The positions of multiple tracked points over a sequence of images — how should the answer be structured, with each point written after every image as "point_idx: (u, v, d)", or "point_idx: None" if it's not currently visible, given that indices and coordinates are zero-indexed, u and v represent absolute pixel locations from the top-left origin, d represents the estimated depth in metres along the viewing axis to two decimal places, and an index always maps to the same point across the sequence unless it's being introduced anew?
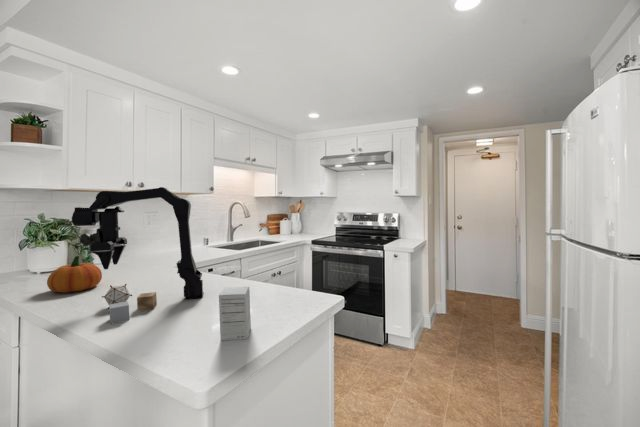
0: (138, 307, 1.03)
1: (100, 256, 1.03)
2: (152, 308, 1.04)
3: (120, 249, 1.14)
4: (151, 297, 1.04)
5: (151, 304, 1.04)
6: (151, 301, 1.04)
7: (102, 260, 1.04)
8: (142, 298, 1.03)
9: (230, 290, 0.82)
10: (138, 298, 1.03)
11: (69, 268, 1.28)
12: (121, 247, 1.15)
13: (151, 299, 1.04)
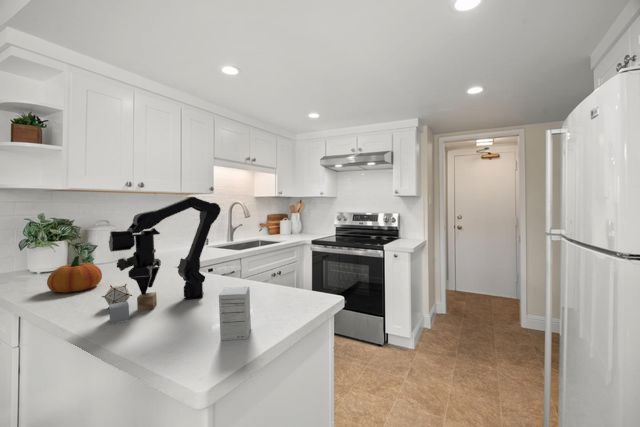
0: (138, 307, 1.03)
1: (138, 281, 1.00)
2: (152, 308, 1.05)
3: (155, 271, 1.11)
4: (151, 297, 1.04)
5: (151, 304, 1.04)
6: (151, 301, 1.04)
7: (140, 286, 1.00)
8: (142, 298, 1.03)
9: (230, 290, 0.82)
10: (138, 298, 1.03)
11: (69, 268, 1.28)
12: (156, 269, 1.11)
13: (151, 299, 1.04)
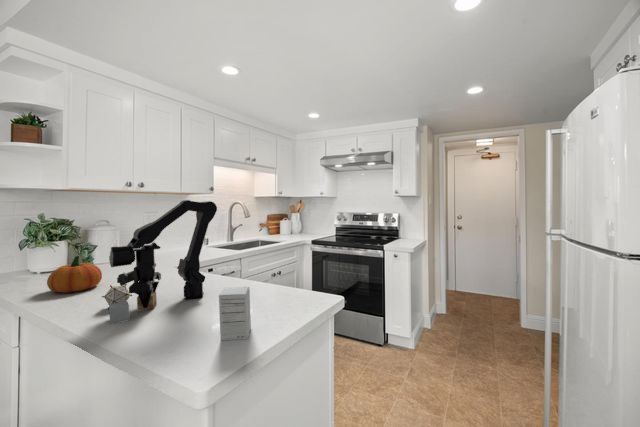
0: (138, 307, 1.03)
1: (140, 295, 1.02)
2: (152, 308, 1.04)
3: (154, 287, 1.09)
4: (151, 297, 1.04)
5: (151, 304, 1.04)
6: (151, 301, 1.04)
7: (142, 299, 1.02)
8: None
9: (230, 290, 0.82)
10: (138, 298, 1.03)
11: (69, 268, 1.28)
12: (155, 284, 1.10)
13: (151, 299, 1.04)
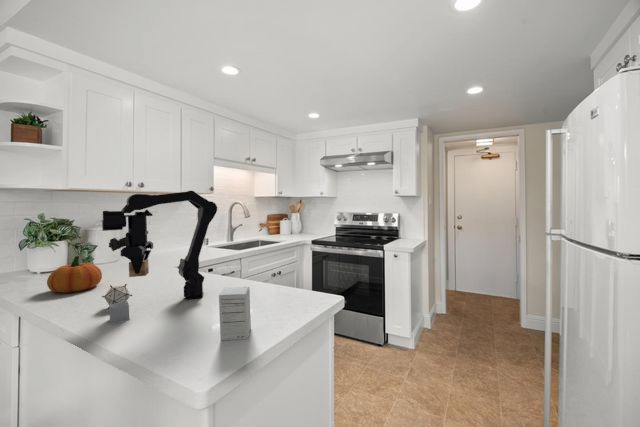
0: (130, 272, 1.03)
1: (132, 260, 1.02)
2: (144, 274, 1.04)
3: (146, 254, 1.09)
4: (143, 263, 1.04)
5: (143, 270, 1.04)
6: (143, 267, 1.04)
7: (134, 265, 1.02)
8: None
9: (230, 290, 0.82)
10: (130, 263, 1.03)
11: (69, 268, 1.28)
12: (147, 252, 1.10)
13: (143, 265, 1.04)
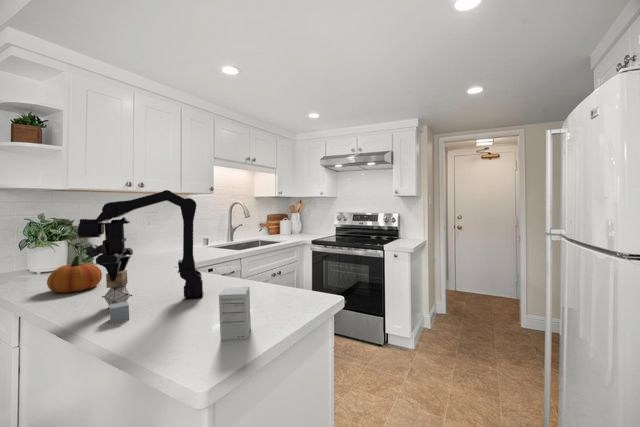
0: (107, 283, 1.05)
1: (107, 268, 1.03)
2: (121, 285, 1.06)
3: (125, 260, 1.12)
4: (120, 274, 1.06)
5: (120, 281, 1.06)
6: (120, 278, 1.06)
7: (110, 272, 1.03)
8: None
9: (230, 290, 0.82)
10: (107, 275, 1.05)
11: (69, 268, 1.28)
12: (126, 258, 1.13)
13: (120, 276, 1.06)
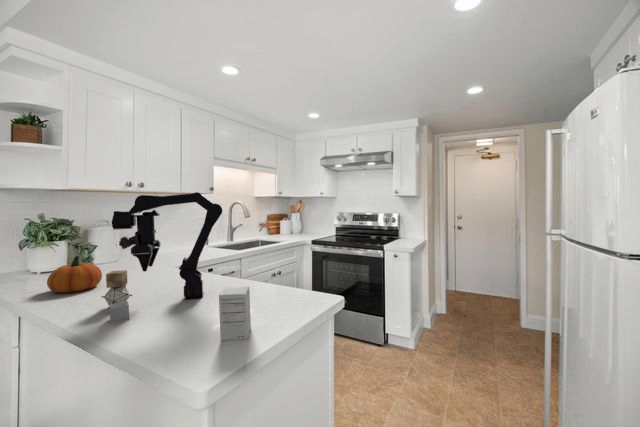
0: (107, 283, 1.05)
1: (140, 258, 1.06)
2: (121, 285, 1.06)
3: (155, 251, 1.17)
4: (120, 274, 1.06)
5: (120, 281, 1.06)
6: (120, 278, 1.06)
7: (142, 263, 1.07)
8: (111, 275, 1.05)
9: (230, 290, 0.82)
10: (107, 275, 1.05)
11: (69, 268, 1.28)
12: (156, 249, 1.18)
13: (120, 276, 1.06)
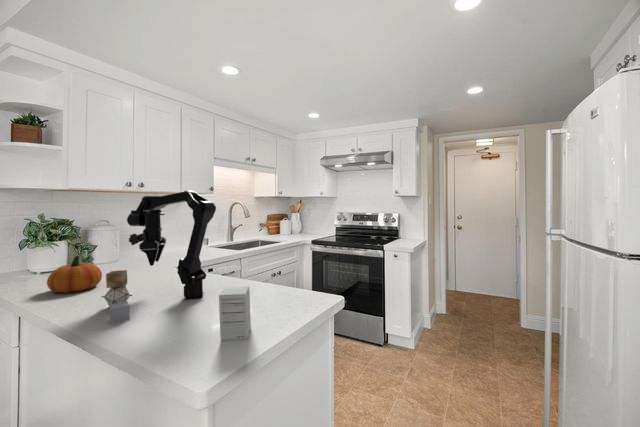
0: (107, 283, 1.05)
1: (147, 254, 1.16)
2: (121, 285, 1.06)
3: (161, 248, 1.28)
4: (120, 274, 1.06)
5: (120, 281, 1.06)
6: (120, 278, 1.06)
7: (149, 258, 1.17)
8: (111, 275, 1.05)
9: (230, 290, 0.82)
10: (107, 275, 1.05)
11: (69, 268, 1.28)
12: (162, 246, 1.28)
13: (120, 276, 1.06)
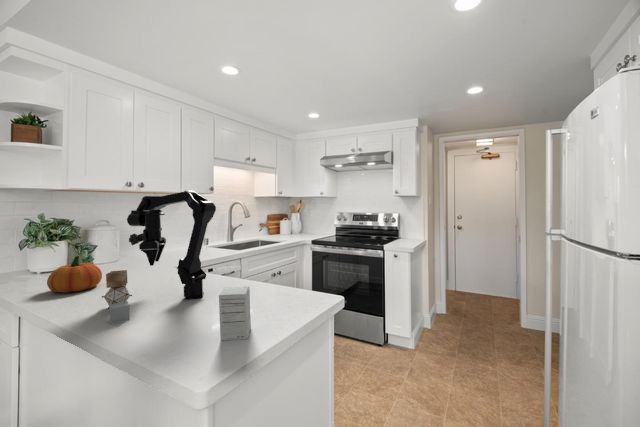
0: (107, 283, 1.05)
1: (147, 254, 1.16)
2: (121, 285, 1.06)
3: (161, 248, 1.28)
4: (120, 274, 1.06)
5: (120, 281, 1.06)
6: (120, 278, 1.06)
7: (149, 258, 1.17)
8: (111, 275, 1.05)
9: (230, 290, 0.82)
10: (107, 275, 1.05)
11: (69, 268, 1.28)
12: (162, 246, 1.28)
13: (120, 276, 1.06)
